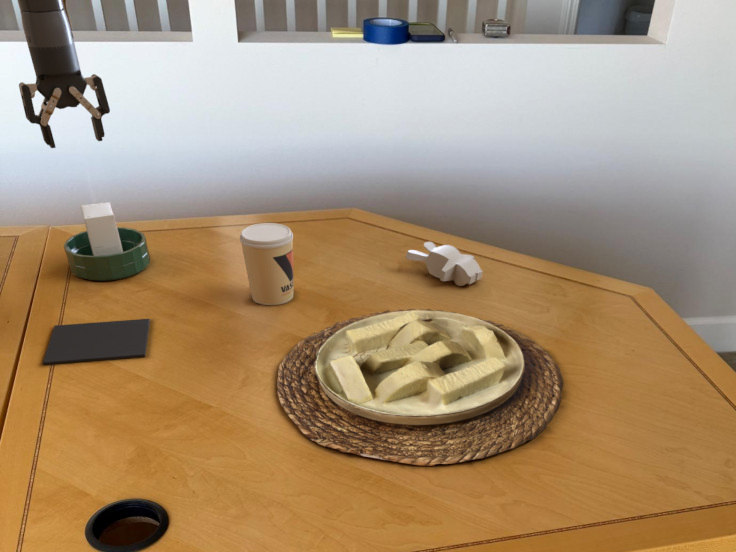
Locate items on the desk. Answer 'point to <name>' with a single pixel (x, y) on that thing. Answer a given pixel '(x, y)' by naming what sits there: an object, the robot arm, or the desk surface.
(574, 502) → the desk surface
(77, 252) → the bowl
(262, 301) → the coffee cup
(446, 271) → the bunny figurine
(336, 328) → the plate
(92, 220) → the small box
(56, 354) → the mat
